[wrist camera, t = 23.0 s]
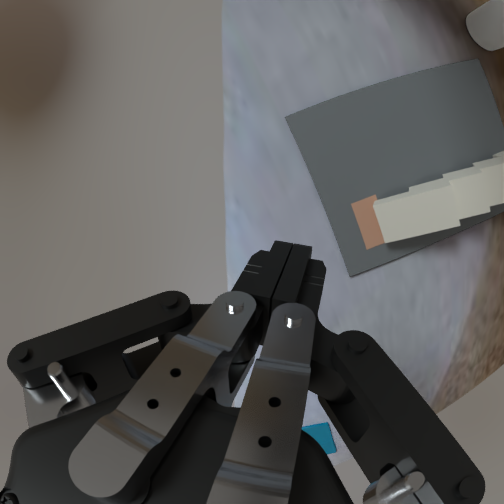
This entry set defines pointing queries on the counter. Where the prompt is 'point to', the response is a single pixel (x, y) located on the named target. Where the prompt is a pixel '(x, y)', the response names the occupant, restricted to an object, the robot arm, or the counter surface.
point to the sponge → (322, 436)
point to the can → (487, 25)
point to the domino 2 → (465, 192)
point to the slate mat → (396, 151)
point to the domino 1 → (417, 212)
